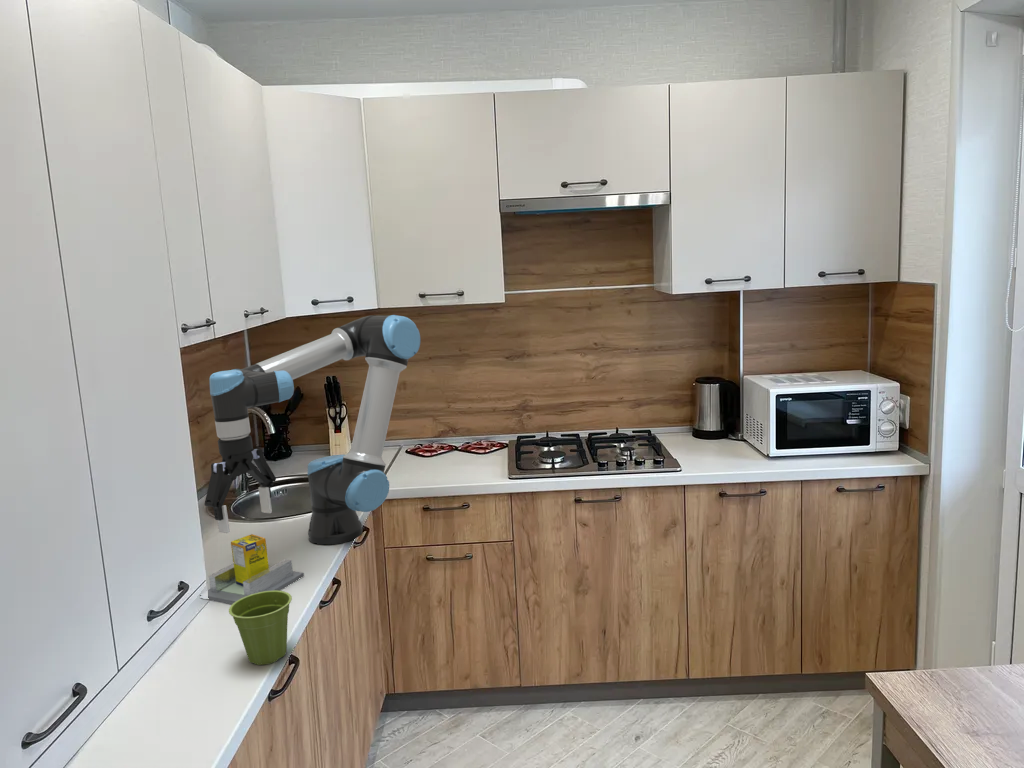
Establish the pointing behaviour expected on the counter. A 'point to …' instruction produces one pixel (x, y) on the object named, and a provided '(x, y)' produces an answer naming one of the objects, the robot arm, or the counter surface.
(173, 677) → the counter surface
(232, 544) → the supplement box
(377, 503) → the robot arm
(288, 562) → the docking plate
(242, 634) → the plant pot
